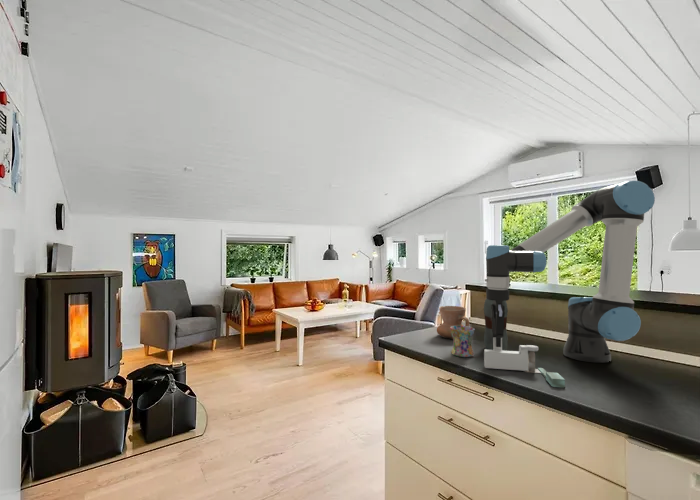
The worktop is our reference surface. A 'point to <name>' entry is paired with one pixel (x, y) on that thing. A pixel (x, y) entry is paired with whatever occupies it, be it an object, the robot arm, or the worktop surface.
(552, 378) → the stool seat
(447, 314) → the ceramic jug
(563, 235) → the robot arm
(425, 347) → the worktop surface
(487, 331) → the bottle
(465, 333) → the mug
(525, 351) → the hinged leg
